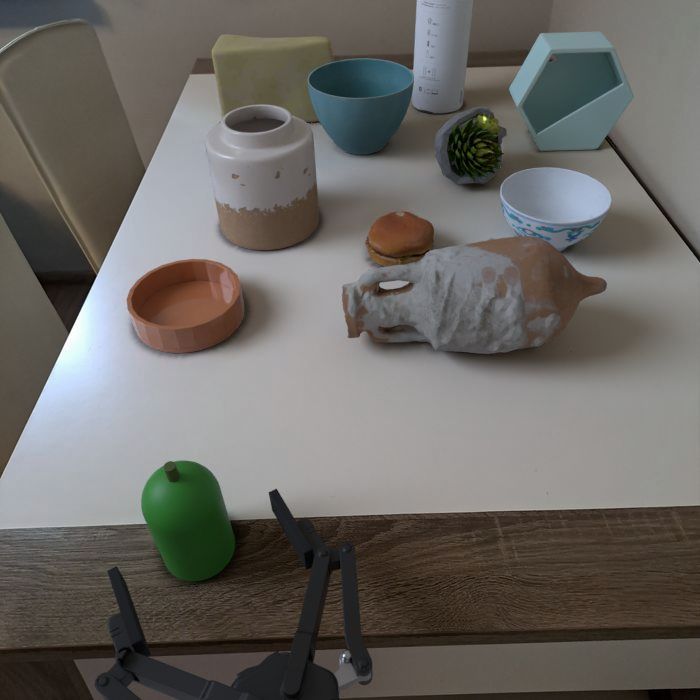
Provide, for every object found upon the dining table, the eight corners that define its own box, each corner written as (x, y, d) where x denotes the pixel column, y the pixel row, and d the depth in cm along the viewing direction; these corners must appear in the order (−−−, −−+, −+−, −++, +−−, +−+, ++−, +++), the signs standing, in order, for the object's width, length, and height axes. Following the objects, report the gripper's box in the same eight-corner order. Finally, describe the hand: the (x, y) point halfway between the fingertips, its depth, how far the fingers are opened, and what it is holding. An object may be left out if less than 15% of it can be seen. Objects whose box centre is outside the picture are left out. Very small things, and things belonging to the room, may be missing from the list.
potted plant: (505, 136, 112) (547, 151, 99) (453, 192, 114) (487, 214, 101) (461, 85, 106) (499, 94, 93) (407, 145, 109) (437, 162, 96)
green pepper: (168, 591, 57) (130, 512, 48) (160, 529, 62) (124, 445, 53) (241, 568, 59) (217, 487, 50) (228, 509, 63) (204, 424, 54)
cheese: (340, 108, 130) (337, 29, 120) (336, 129, 123) (333, 47, 113) (232, 108, 132) (219, 30, 121) (222, 130, 125) (208, 48, 114)
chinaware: (472, 230, 97) (478, 184, 92) (549, 203, 102) (558, 157, 97) (540, 283, 87) (551, 234, 82) (621, 249, 92) (636, 202, 87)
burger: (381, 276, 89) (381, 248, 86) (357, 241, 96) (357, 214, 93) (445, 261, 92) (448, 233, 89) (418, 228, 98) (419, 200, 95)
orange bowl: (140, 365, 78) (131, 340, 75) (130, 295, 88) (122, 271, 85) (255, 337, 81) (250, 313, 78) (233, 273, 91) (229, 249, 88)
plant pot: (328, 119, 127) (324, 54, 118) (419, 127, 123) (422, 60, 115) (299, 162, 114) (293, 93, 106) (400, 172, 110) (402, 102, 102)
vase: (321, 196, 105) (314, 94, 94) (317, 250, 94) (308, 142, 83) (228, 198, 106) (210, 97, 94) (213, 252, 95) (190, 144, 83)
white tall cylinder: (473, 102, 131) (489, -45, 113) (443, 120, 125) (455, -33, 107) (431, 89, 136) (440, -54, 118) (400, 105, 130) (405, -42, 112)
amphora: (642, 285, 66) (354, 236, 64) (585, 405, 75) (330, 365, 73) (602, 232, 78) (357, 189, 76) (557, 342, 87) (336, 306, 85)
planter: (552, 174, 118) (502, 80, 106) (542, 154, 123) (494, 63, 112) (644, 122, 111) (602, 16, 99) (630, 103, 117) (588, 1, 105)
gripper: (137, 950, 37) (58, 634, 51) (478, 711, 46) (334, 495, 60) (99, 938, 32) (23, 590, 46) (491, 671, 41) (330, 444, 54)
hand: (198, 535), depth 53 cm, fingers open, 13 cm apart
